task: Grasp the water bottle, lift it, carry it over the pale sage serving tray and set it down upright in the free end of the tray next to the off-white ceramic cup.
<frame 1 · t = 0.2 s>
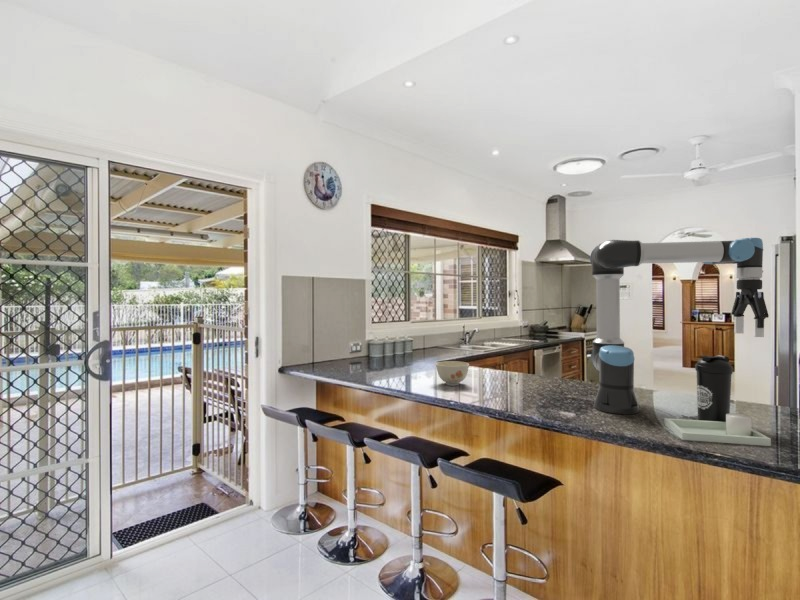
hand: (748, 335, 161), 28 cm above the countertop, fingers open, 13 cm apart
bowl: (452, 384, 206), on the countertop
cup: (738, 435, 128), point 1 cm above the countertop, touching tray
tray: (713, 437, 130), on the countertop
water bottle: (713, 424, 143), on the countertop
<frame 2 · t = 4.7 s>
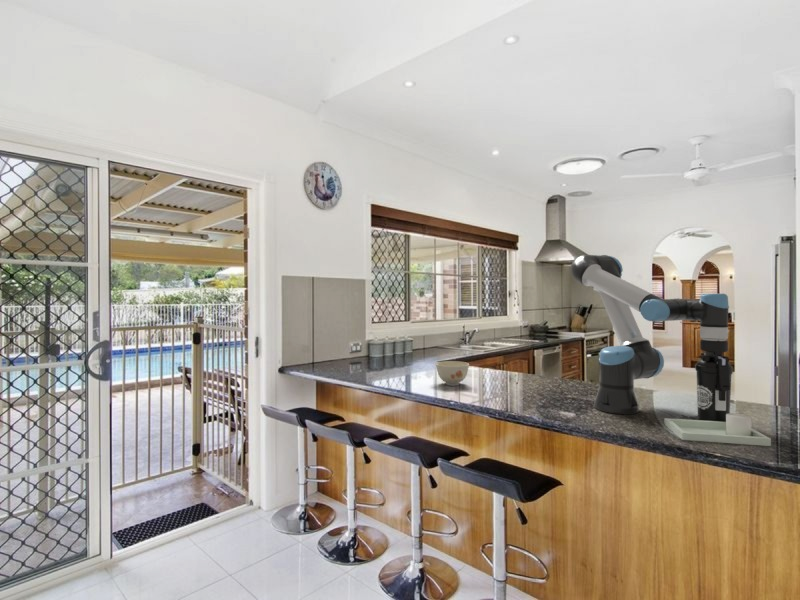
hand: (713, 406, 143), 6 cm above the countertop, fingers closed on water bottle, 9 cm apart
water bottle: (713, 424, 143), on the countertop, touching gripper
everything else where it was.
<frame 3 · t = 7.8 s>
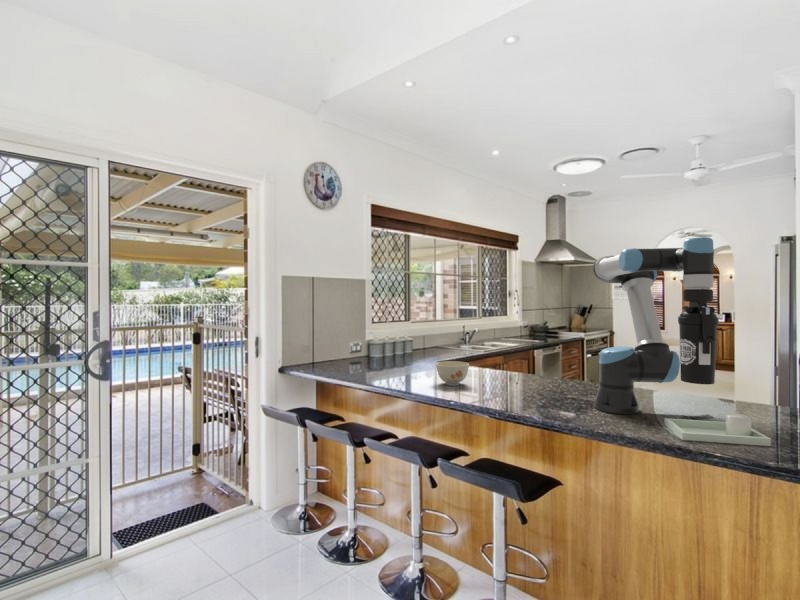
hand: (697, 361, 130), 23 cm above the countertop, fingers closed on water bottle, 9 cm apart
water bottle: (697, 382, 130), point 17 cm above the countertop, touching gripper
everything else where it was.
when the fingers open (8 cm above the countertop, at t = 11.3 s): water bottle drops 1 cm, resting on tray.
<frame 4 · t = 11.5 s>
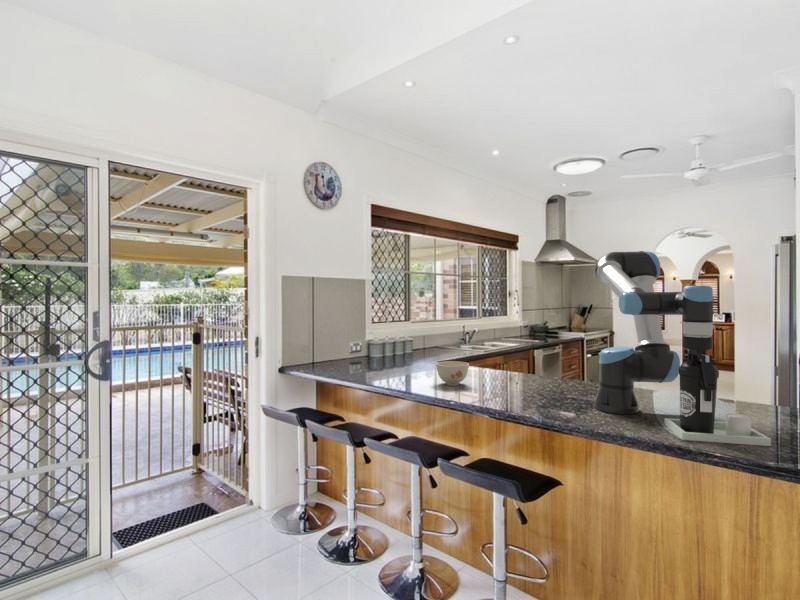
hand: (696, 406, 131), 9 cm above the countertop, fingers open, 12 cm apart
water bottle: (696, 433, 131), point 1 cm above the countertop, touching tray
everything else where it was.
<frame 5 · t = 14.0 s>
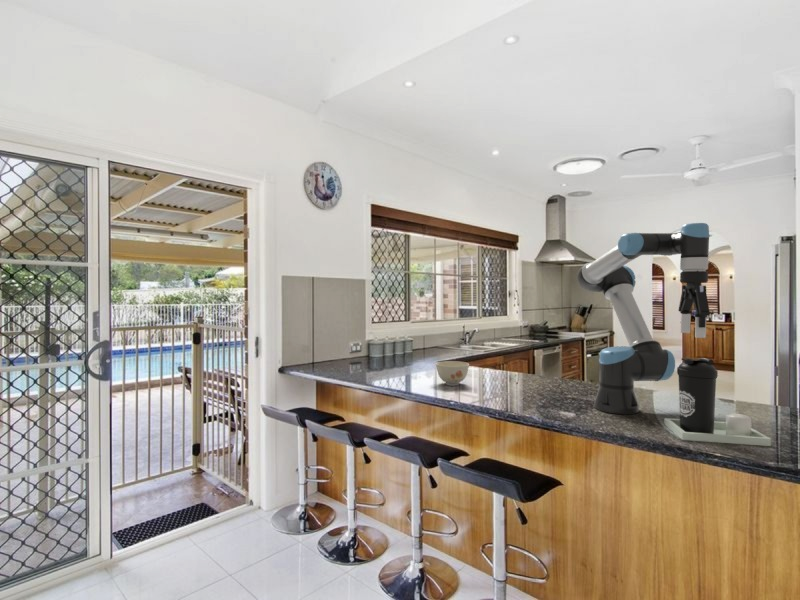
hand: (692, 335, 141), 30 cm above the countertop, fingers open, 13 cm apart
nothing on the countertop moved.
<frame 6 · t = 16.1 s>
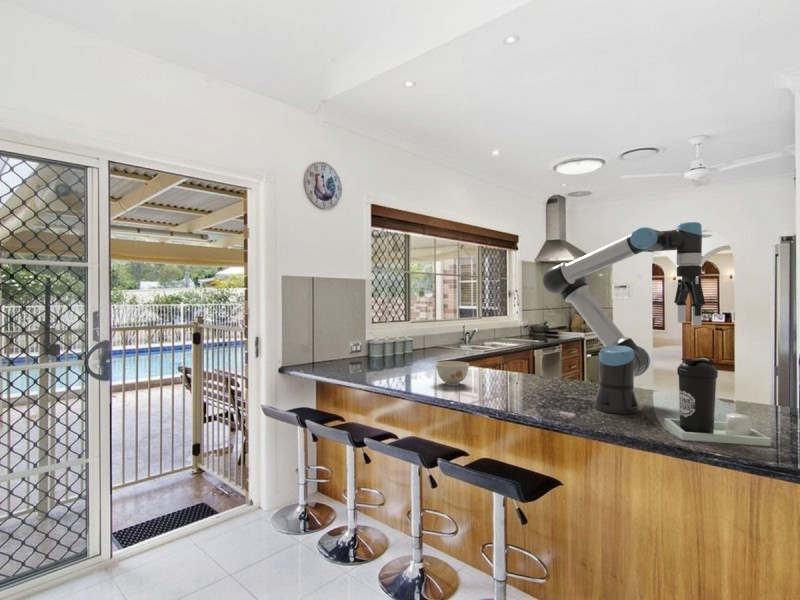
hand: (688, 323, 155), 33 cm above the countertop, fingers open, 13 cm apart
nothing on the countertop moved.
at the end: water bottle inside the target area on the tray (0.3 cm from its centre), point 0.8 cm above the tray's base; water bottle tilted 0°; cup moved 0.2 cm from its start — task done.
